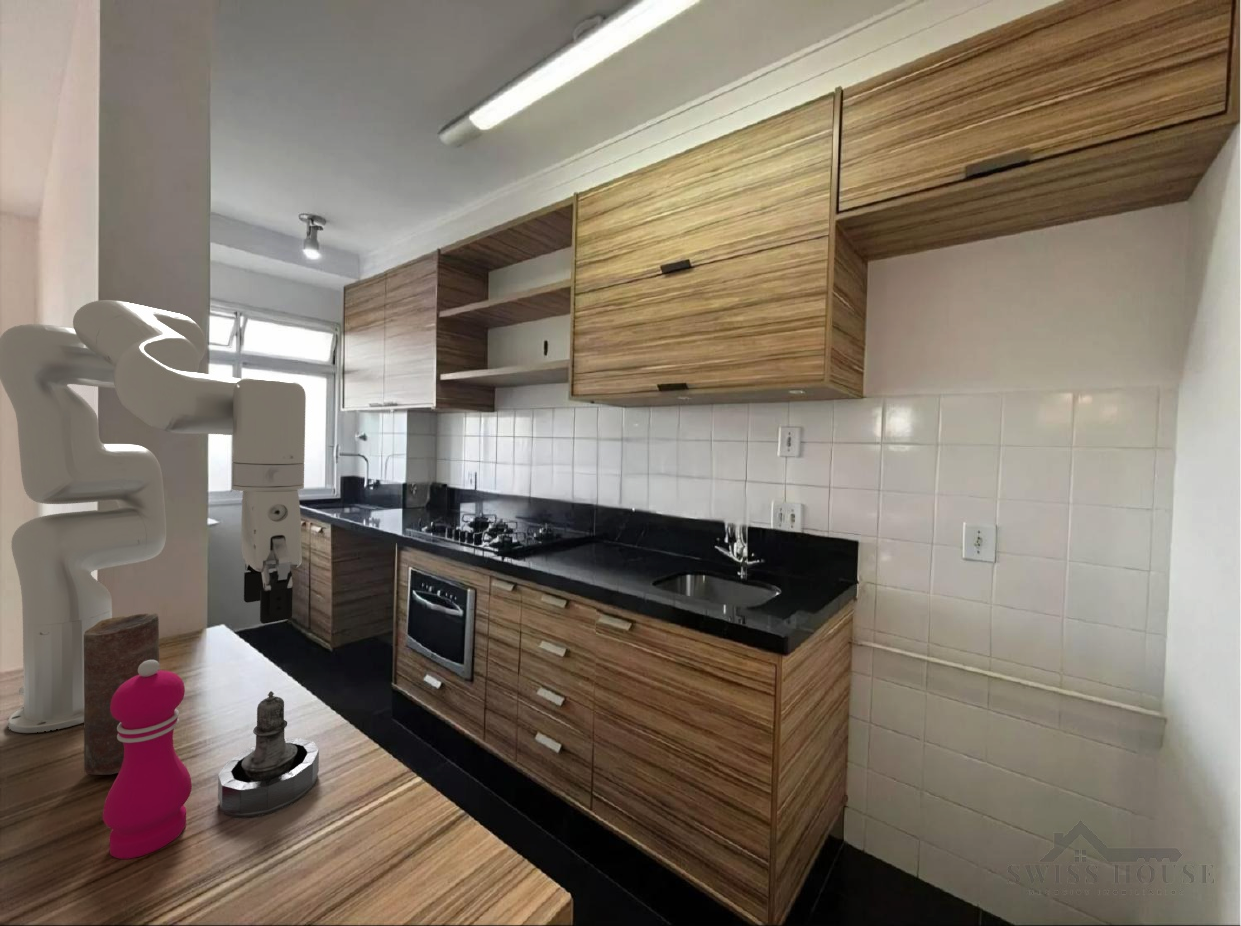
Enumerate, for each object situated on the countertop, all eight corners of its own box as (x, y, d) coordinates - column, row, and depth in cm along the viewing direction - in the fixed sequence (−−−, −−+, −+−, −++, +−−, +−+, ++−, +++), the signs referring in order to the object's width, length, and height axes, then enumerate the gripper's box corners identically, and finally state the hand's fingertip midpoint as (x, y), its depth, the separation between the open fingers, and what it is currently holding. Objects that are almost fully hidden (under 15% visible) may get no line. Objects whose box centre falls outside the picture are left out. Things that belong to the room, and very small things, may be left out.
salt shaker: (269, 803, 61) (271, 705, 61) (228, 795, 63) (229, 699, 62) (308, 772, 67) (309, 683, 67) (269, 765, 68) (270, 678, 68)
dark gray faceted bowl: (197, 807, 61) (197, 779, 61) (274, 757, 71) (274, 733, 71) (265, 826, 59) (266, 796, 59) (335, 771, 69) (335, 746, 68)
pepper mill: (184, 804, 62) (184, 642, 61) (198, 835, 57) (198, 660, 56) (98, 838, 56) (97, 660, 55) (107, 876, 52) (106, 682, 51)
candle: (135, 781, 65) (134, 628, 64) (66, 788, 64) (64, 631, 63) (173, 746, 73) (173, 608, 72) (112, 751, 71) (111, 610, 70)
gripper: (323, 482, 61) (320, 622, 62) (286, 471, 73) (284, 588, 74) (246, 484, 56) (244, 637, 57) (220, 472, 68) (218, 598, 69)
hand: (266, 609), depth 65 cm, fingers open, 9 cm apart
